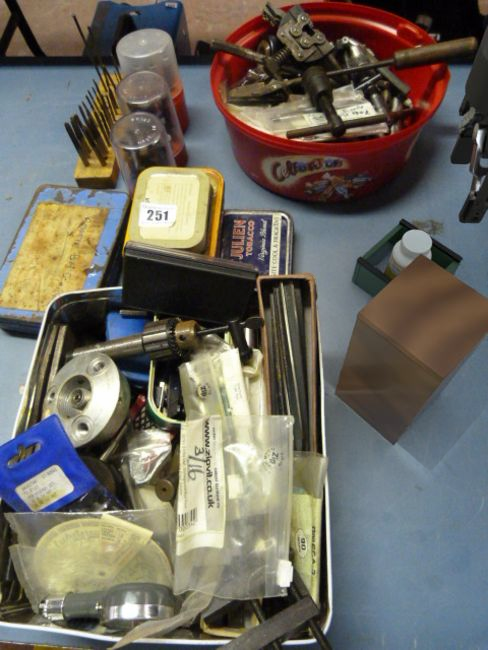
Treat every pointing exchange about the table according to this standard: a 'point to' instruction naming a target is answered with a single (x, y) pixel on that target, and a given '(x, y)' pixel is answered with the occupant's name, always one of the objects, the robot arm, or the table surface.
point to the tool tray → (365, 265)
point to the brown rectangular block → (410, 346)
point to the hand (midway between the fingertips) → (463, 190)
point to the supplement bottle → (408, 251)
